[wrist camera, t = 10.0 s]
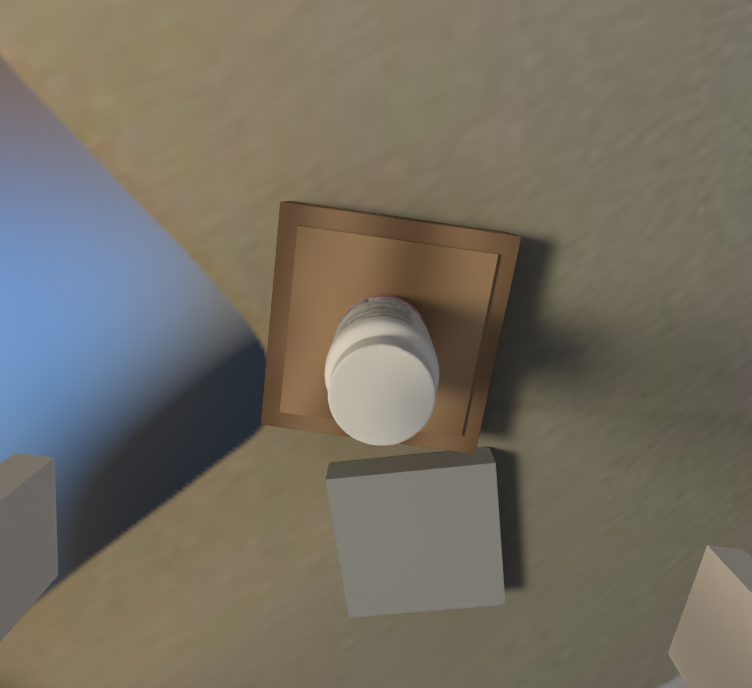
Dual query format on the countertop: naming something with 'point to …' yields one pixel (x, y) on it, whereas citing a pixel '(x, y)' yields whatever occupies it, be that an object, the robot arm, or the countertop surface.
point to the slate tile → (417, 532)
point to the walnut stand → (394, 278)
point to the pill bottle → (381, 371)
